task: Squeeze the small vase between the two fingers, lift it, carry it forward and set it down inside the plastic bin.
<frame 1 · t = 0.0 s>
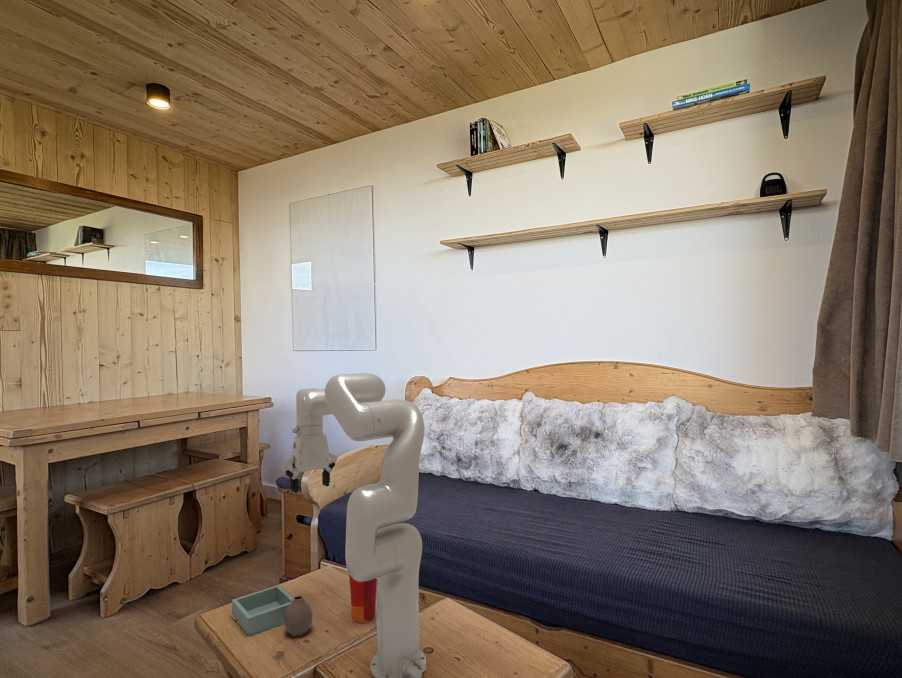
hand: (310, 488, 149), 31 cm above the table, fingers open, 9 cm apart
coffee cup: (363, 618, 136), on the table
vase: (298, 632, 130), on the table
bin: (264, 617, 137), on the table
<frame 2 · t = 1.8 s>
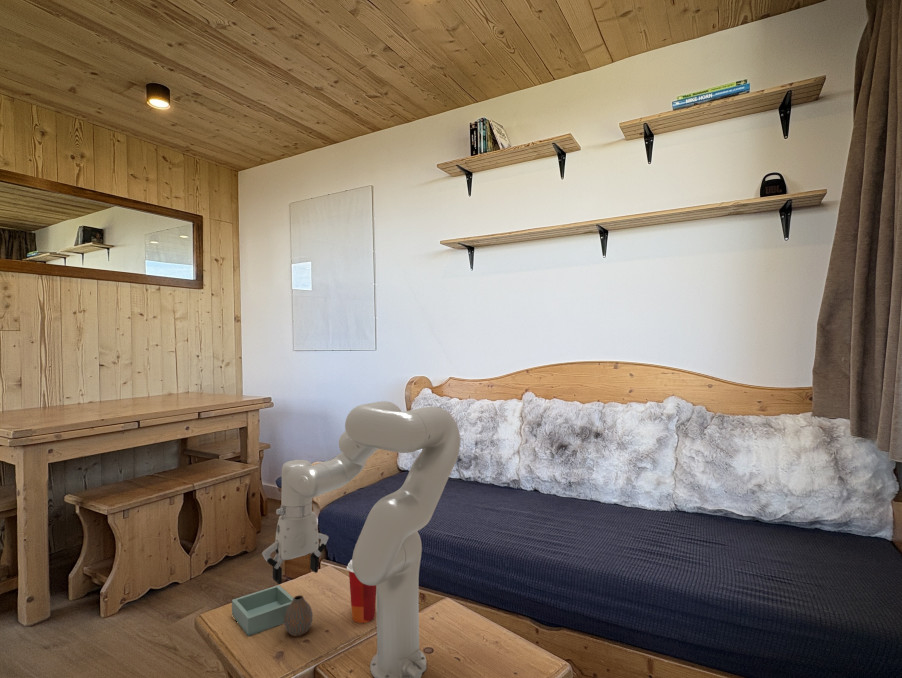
hand: (296, 576, 130), 14 cm above the table, fingers open, 9 cm apart
nothing on the table moved.
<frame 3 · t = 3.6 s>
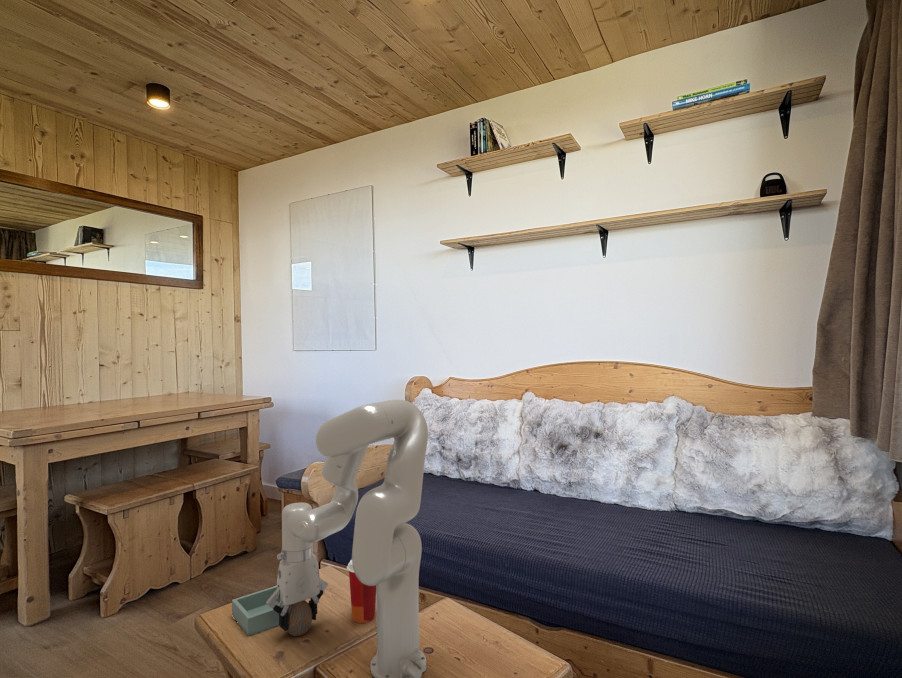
hand: (298, 622, 130), 2 cm above the table, fingers closed on vase, 6 cm apart
vase: (298, 632, 130), on the table, touching gripper
everything else where it was.
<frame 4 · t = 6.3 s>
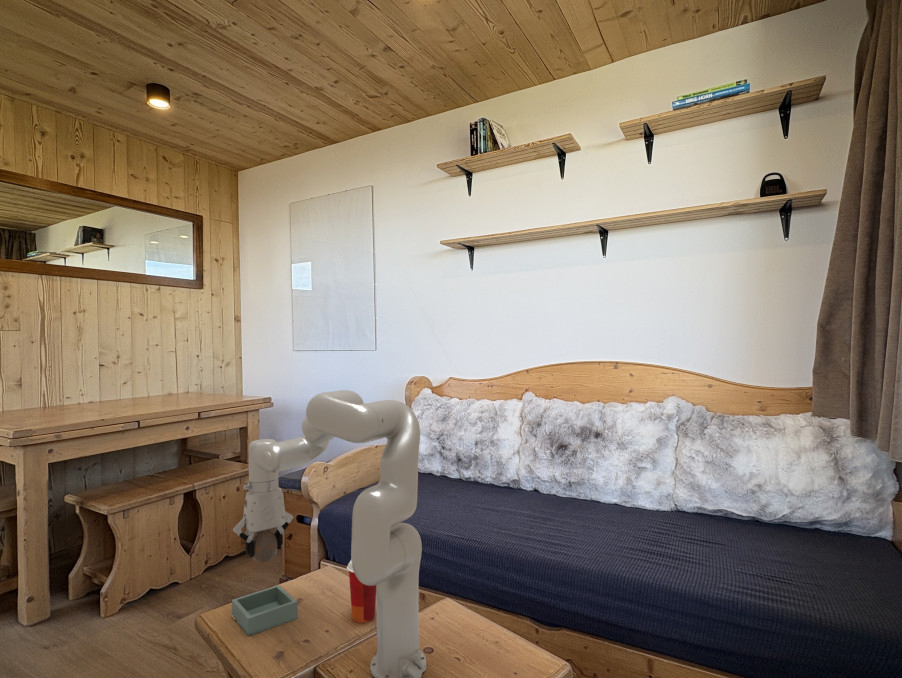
hand: (264, 551, 137), 18 cm above the table, fingers closed on vase, 6 cm apart
vase: (264, 560, 137), point 15 cm above the table, touching gripper
everything else where it was.
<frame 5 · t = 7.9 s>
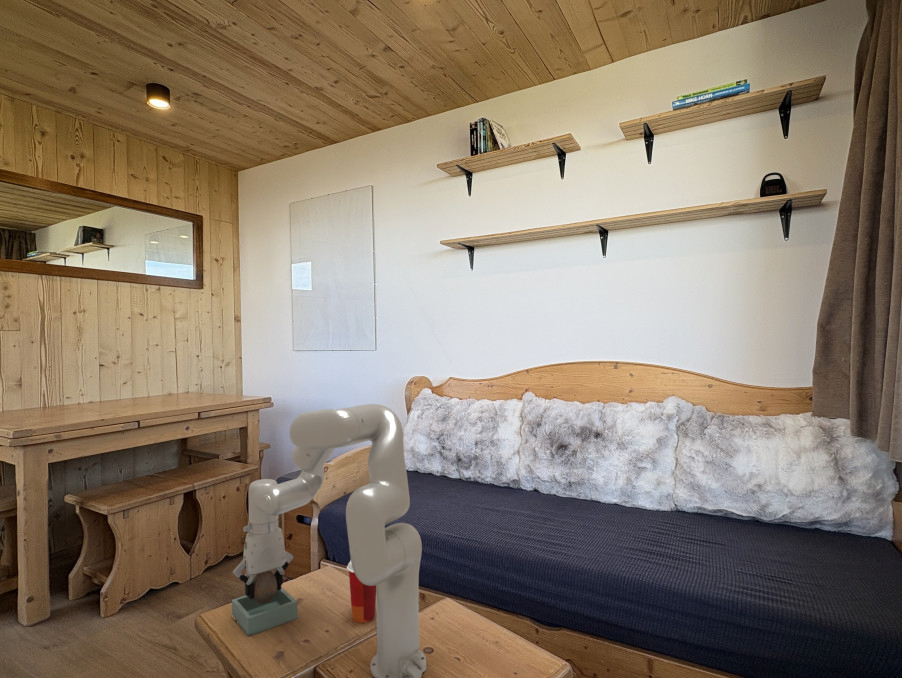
hand: (264, 592, 137), 7 cm above the table, fingers closed on vase, 6 cm apart
vase: (264, 601, 137), point 4 cm above the table, touching gripper
everything else where it was.
when the fingers open (6 cm above the table, at t = 9.1 s): vase drops 3 cm, resting on bin.
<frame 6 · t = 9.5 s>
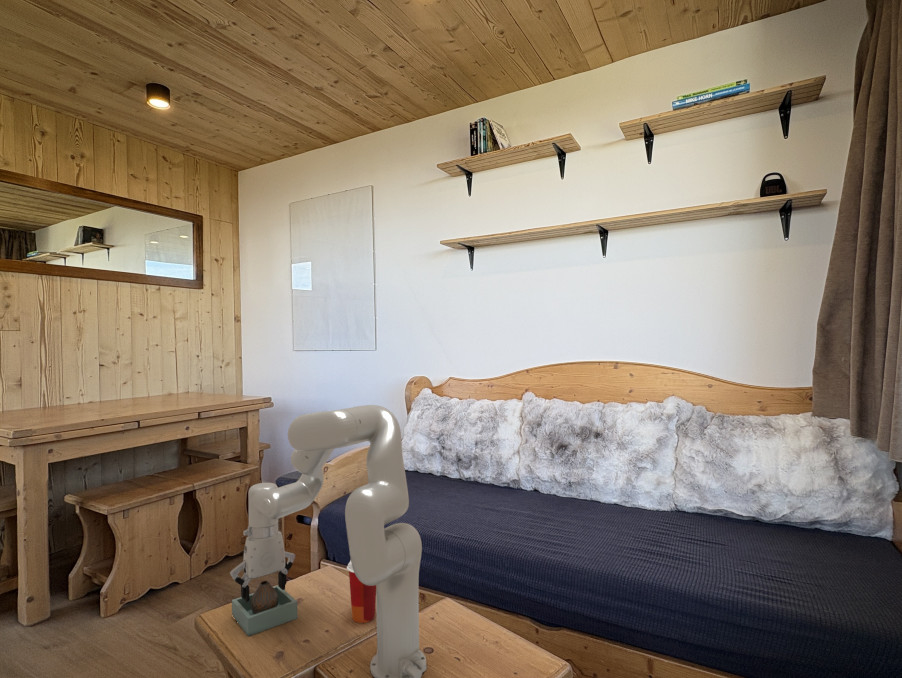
hand: (264, 593, 137), 6 cm above the table, fingers open, 9 cm apart
vase: (264, 616, 137), resting on bin
everything else where it was.
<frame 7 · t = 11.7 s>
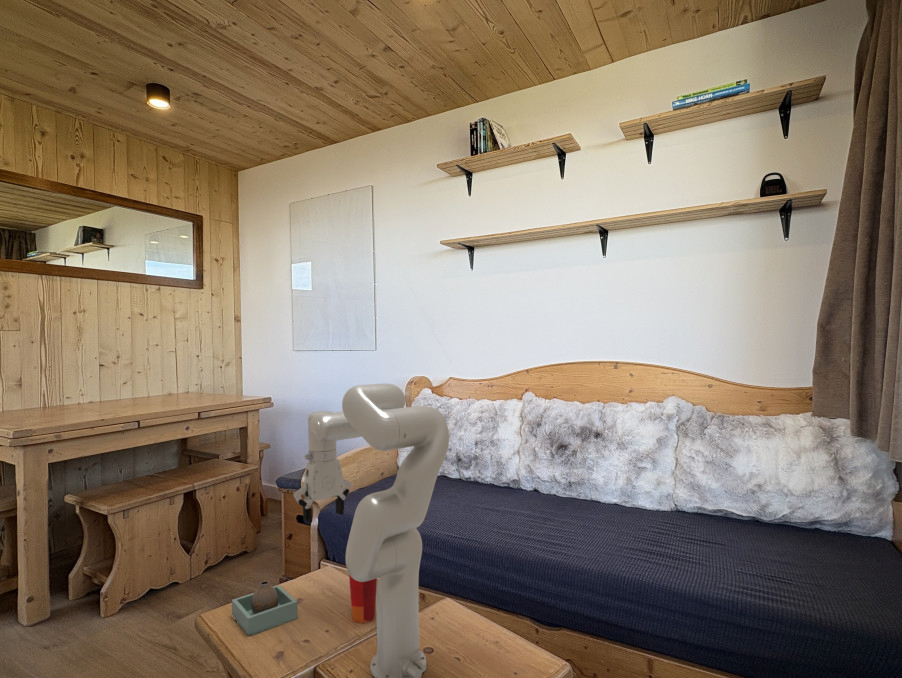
hand: (324, 517, 141), 25 cm above the table, fingers open, 9 cm apart
nothing on the table moved.
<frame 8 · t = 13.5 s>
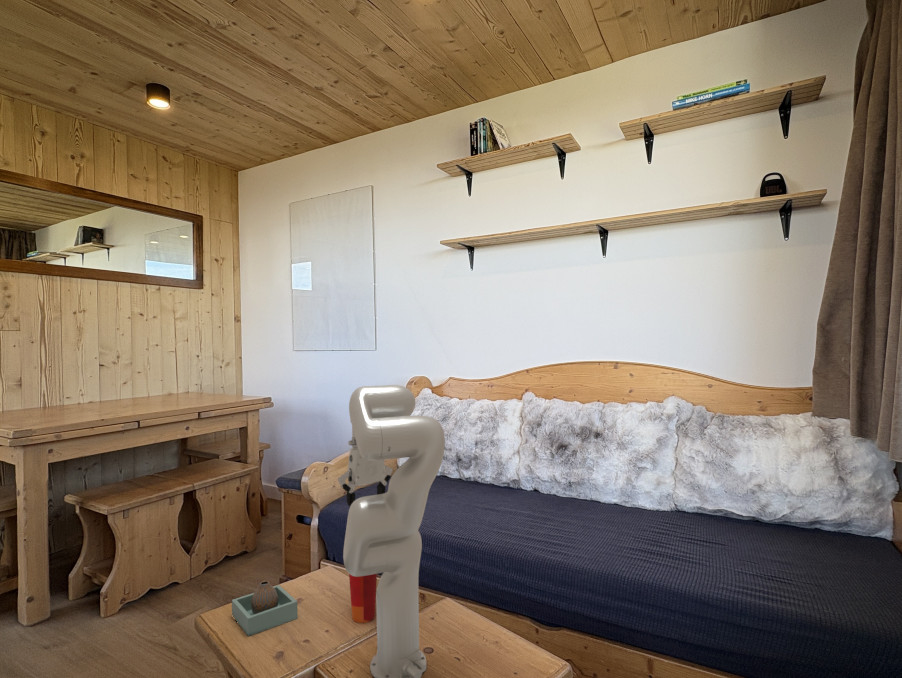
hand: (366, 502, 144), 28 cm above the table, fingers open, 9 cm apart
nothing on the table moved.
at the end: vase inside the target area on the bin (0.1 cm from its centre), point 0.4 cm above the bin's base; vase tilted 0°; the gripper is holding nothing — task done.
